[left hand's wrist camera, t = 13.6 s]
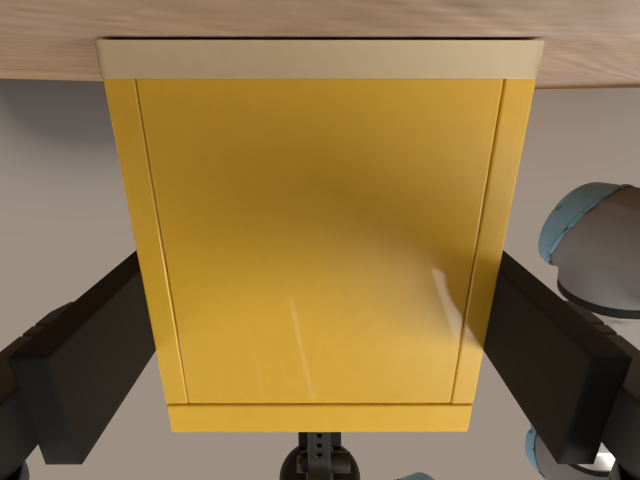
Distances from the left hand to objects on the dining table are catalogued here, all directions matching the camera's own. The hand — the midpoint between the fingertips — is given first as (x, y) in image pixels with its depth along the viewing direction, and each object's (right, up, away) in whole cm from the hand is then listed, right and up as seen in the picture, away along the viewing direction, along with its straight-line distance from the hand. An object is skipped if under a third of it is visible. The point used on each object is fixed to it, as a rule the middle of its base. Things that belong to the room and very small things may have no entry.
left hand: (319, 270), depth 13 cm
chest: (0, +9, +3) cm, 9 cm away
